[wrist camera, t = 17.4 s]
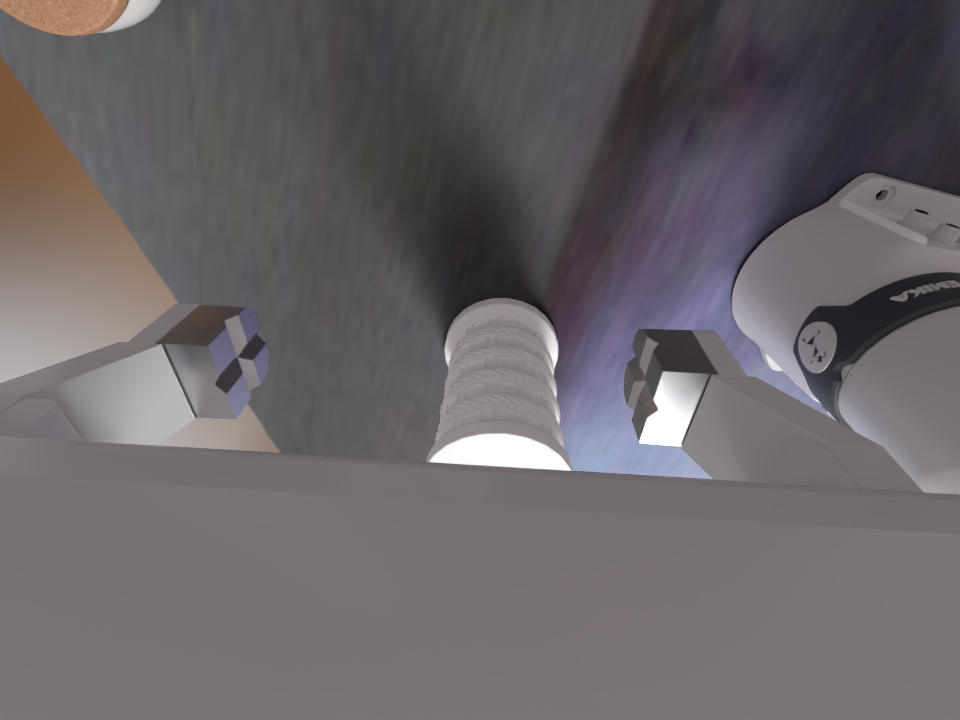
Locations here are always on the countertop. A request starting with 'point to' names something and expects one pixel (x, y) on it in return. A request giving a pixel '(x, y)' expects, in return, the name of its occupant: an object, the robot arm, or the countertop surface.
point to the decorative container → (501, 390)
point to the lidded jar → (79, 14)
